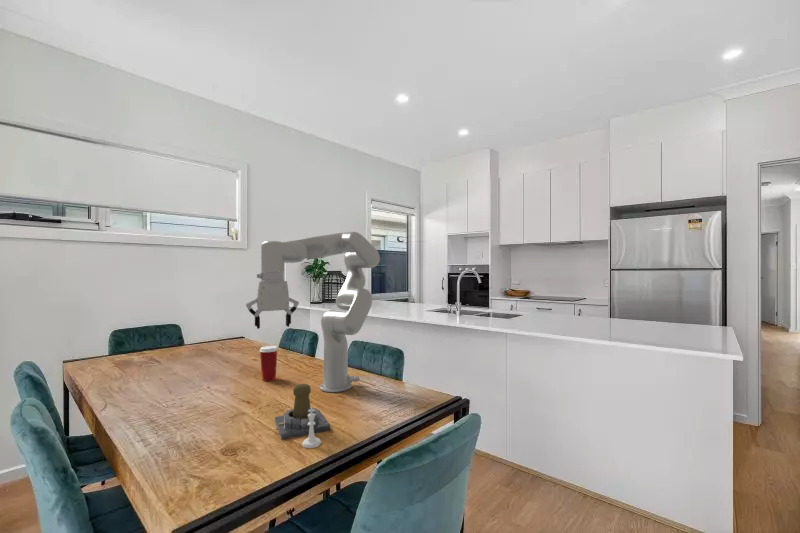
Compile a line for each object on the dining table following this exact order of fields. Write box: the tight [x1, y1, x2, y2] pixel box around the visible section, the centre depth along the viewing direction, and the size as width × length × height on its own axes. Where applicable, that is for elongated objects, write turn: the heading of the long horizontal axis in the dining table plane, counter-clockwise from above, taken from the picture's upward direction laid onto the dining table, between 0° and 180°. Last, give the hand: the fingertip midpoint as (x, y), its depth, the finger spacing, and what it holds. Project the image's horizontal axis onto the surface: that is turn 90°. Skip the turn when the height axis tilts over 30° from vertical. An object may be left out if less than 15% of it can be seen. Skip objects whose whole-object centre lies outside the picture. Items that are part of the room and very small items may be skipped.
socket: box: [274, 406, 331, 440], centre depth 117 cm, size 14×14×4 cm
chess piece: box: [301, 406, 322, 449], centre depth 105 cm, size 5×5×10 cm
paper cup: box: [259, 345, 279, 382], centre depth 167 cm, size 8×8×14 cm
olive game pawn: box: [292, 383, 311, 418], centre depth 118 cm, size 6×6×11 cm
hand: (273, 327), depth 131 cm, fingers open, 9 cm apart
